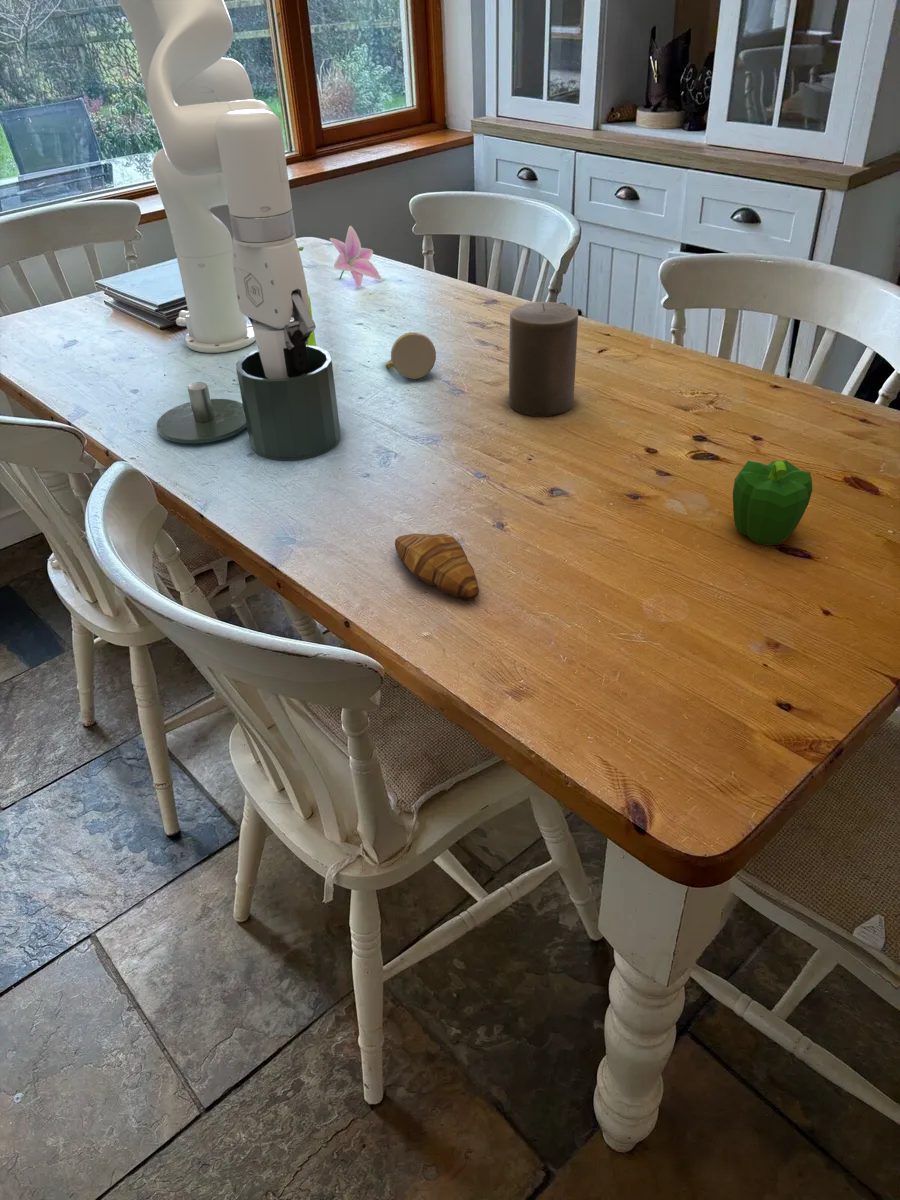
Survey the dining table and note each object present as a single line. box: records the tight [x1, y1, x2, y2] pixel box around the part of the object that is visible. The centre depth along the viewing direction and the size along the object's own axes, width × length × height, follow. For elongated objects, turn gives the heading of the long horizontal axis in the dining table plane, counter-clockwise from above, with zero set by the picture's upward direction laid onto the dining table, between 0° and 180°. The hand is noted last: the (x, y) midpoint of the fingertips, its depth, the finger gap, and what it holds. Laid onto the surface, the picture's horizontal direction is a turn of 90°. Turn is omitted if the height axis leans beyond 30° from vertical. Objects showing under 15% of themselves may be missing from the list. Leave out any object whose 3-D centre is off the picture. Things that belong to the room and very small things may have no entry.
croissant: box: [394, 533, 480, 601], centre depth 95 cm, size 14×7×5 cm, turn 39°
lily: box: [329, 225, 383, 289], centre depth 178 cm, size 12×12×10 cm
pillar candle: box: [508, 301, 579, 418], centre depth 126 cm, size 10×10×15 cm
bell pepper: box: [732, 459, 813, 546], centre depth 98 cm, size 8×8×10 cm
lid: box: [156, 381, 247, 444], centre depth 126 cm, size 14×14×6 cm
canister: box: [235, 345, 341, 462], centre depth 120 cm, size 13×13×12 cm
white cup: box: [250, 317, 304, 379], centre depth 115 cm, size 7×7×7 cm
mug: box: [384, 331, 437, 380], centre depth 140 cm, size 8×10×10 cm
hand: (284, 367), depth 117 cm, fingers closed on white cup, 5 cm apart
